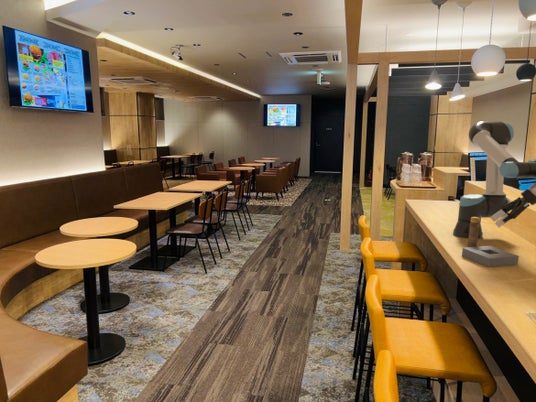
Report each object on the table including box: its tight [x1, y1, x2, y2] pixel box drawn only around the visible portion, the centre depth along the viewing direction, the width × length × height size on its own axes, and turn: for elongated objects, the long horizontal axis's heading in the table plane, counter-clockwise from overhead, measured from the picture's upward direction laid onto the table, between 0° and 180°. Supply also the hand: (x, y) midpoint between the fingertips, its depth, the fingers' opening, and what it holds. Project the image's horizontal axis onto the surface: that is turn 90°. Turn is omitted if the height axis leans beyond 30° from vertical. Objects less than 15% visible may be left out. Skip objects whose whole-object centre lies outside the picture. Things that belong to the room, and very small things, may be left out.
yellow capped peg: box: [467, 217, 480, 247], centre depth 197 cm, size 4×4×16 cm
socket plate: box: [461, 245, 520, 268], centre depth 180 cm, size 16×16×4 cm
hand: (494, 222), depth 192 cm, fingers open, 13 cm apart
